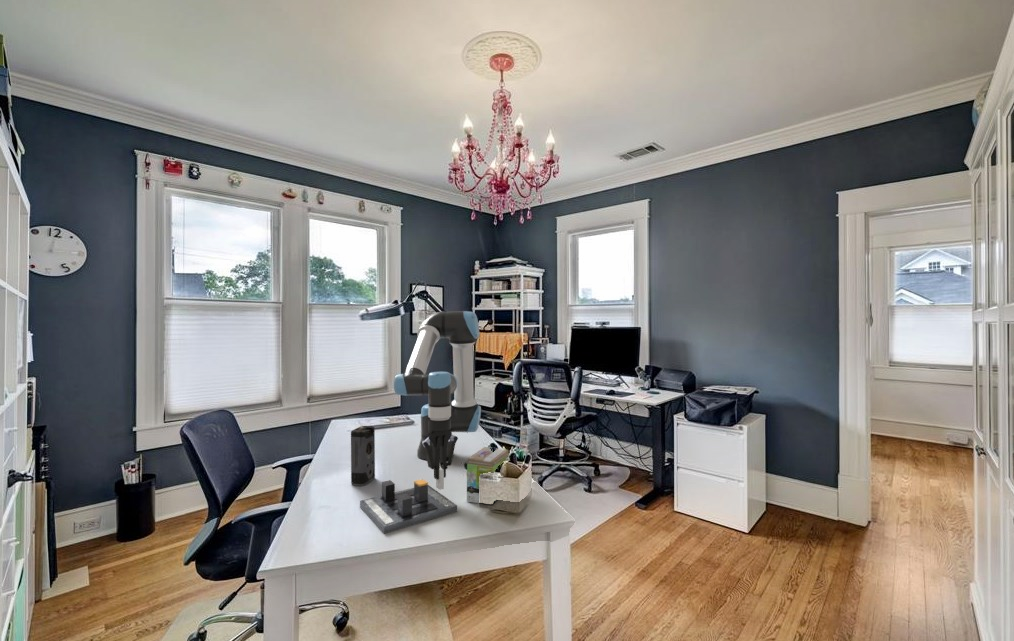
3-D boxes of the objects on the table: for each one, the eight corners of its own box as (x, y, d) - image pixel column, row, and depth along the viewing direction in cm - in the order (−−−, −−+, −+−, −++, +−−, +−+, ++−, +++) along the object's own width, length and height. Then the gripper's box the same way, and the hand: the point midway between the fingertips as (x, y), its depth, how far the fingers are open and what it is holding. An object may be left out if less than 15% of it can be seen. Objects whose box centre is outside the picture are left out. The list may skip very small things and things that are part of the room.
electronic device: (364, 486, 162) (363, 432, 162) (349, 485, 163) (348, 431, 163) (376, 477, 171) (376, 425, 171) (362, 476, 172) (362, 425, 172)
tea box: (493, 506, 145) (493, 461, 145) (465, 502, 148) (465, 458, 148) (509, 489, 159) (509, 448, 159) (483, 486, 162) (483, 445, 162)
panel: (427, 489, 159) (427, 469, 159) (457, 511, 141) (457, 488, 141) (360, 506, 145) (359, 484, 145) (383, 533, 127) (383, 508, 127)
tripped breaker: (422, 495, 148) (422, 479, 148) (427, 499, 145) (427, 482, 144) (414, 497, 146) (414, 481, 146) (419, 502, 143) (419, 484, 143)
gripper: (451, 413, 156) (451, 480, 156) (417, 418, 148) (417, 488, 148) (462, 417, 150) (462, 487, 150) (426, 422, 142) (427, 496, 142)
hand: (440, 487), depth 149 cm, fingers closed
